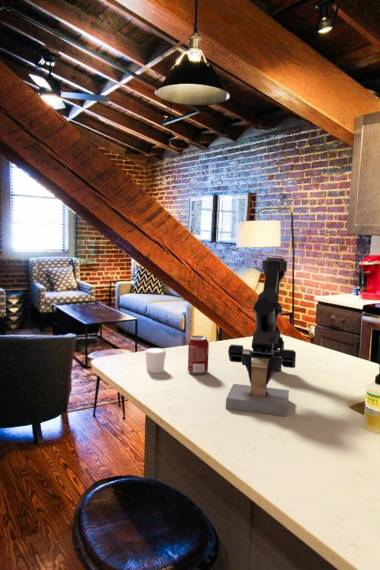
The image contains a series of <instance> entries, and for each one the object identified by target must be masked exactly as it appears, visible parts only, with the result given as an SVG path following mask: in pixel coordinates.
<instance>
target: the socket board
mask: <svg viewBox="0 0 380 570" xmlns="http://www.w3.org/2000/svg"><path fill="white" fill-rule="evenodd" d="M250 394H251V385H248V384H241V383H238V384H237V383H233V384H232V386H231V387H230V390H229V392H228V394H227V396H226V399H225V410H232V411H233V410H234V411H239V412H240V411H241V412H248V413H256V414H257V413H258V414H264V415H272V416H281V417H287V413H288V407H289V406H288V404H289V399H290V398H289V394H290V390H289V389H285V388H284V389H282V388H276V387H274V388H273V387H267V392H266V398H262V397H254V396H250Z"/></svg>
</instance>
